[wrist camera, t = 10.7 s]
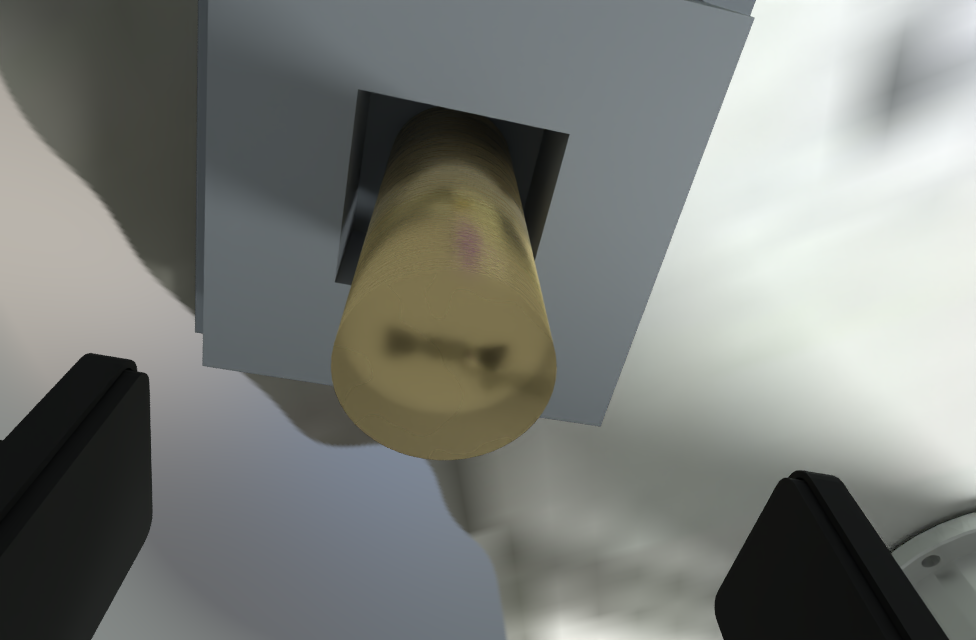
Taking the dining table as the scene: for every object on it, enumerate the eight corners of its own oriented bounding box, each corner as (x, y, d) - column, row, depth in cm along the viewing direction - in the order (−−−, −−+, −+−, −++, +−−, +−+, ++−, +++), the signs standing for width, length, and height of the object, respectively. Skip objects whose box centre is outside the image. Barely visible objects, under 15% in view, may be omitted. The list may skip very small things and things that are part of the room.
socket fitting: (602, 383, 28) (628, 466, 24) (203, 318, 26) (153, 396, 22) (758, -44, 21) (837, -35, 16) (211, -187, 18) (136, -220, 14)
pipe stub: (496, 233, 24) (526, 473, 13) (381, 212, 23) (320, 444, 13) (524, 119, 22) (583, 295, 11) (399, 93, 21) (344, 253, 11)
